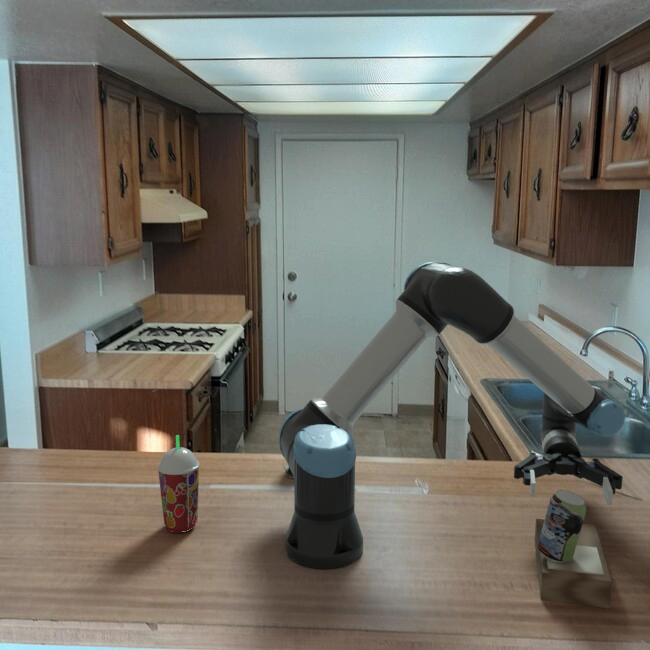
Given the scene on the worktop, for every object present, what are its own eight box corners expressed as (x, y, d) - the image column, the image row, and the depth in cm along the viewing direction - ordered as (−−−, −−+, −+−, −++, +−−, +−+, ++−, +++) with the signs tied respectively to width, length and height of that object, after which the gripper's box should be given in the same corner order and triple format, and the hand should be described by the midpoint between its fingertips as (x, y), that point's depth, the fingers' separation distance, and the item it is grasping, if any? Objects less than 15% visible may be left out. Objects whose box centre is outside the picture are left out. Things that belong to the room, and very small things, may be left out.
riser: (540, 599, 115) (542, 570, 114) (534, 541, 134) (536, 517, 133) (609, 608, 112) (612, 579, 111) (593, 548, 131) (595, 523, 130)
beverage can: (534, 546, 121) (539, 484, 119) (577, 550, 120) (583, 488, 118) (539, 565, 115) (545, 500, 113) (584, 569, 114) (591, 504, 112)
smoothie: (209, 526, 140) (206, 435, 136) (176, 541, 134) (171, 446, 130) (185, 513, 145) (182, 425, 142) (152, 527, 139) (148, 435, 136)
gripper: (621, 474, 143) (641, 520, 123) (501, 463, 149) (501, 504, 129) (624, 441, 142) (645, 481, 122) (502, 431, 148) (503, 468, 128)
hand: (571, 493), depth 125 cm, fingers open, 13 cm apart
